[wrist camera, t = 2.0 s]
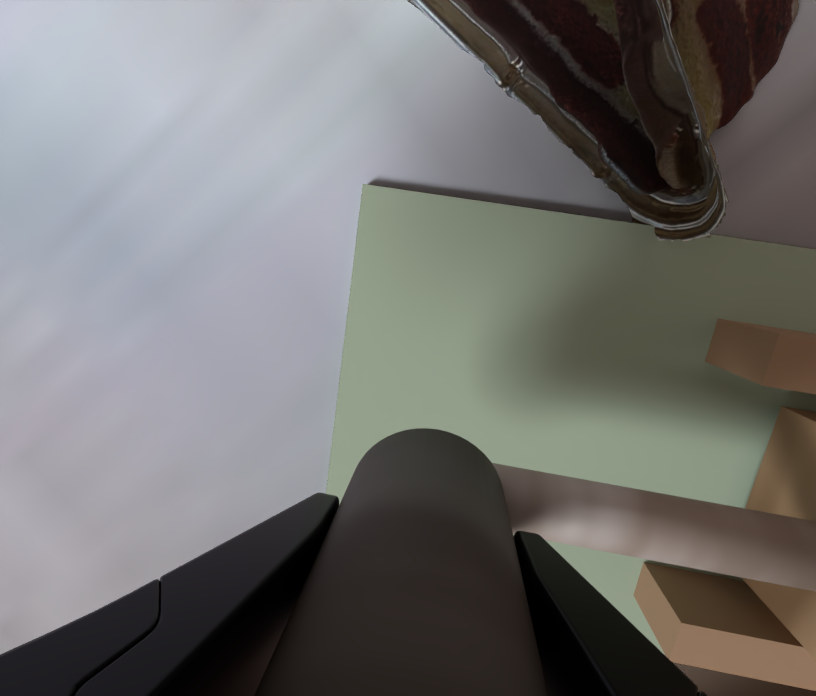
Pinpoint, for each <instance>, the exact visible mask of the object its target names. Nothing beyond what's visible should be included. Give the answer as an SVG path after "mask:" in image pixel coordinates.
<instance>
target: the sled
mask: <svg viewBox="0 0 816 696" xmlns="http://www.w3.org/2000/svg"><path fill="white" fill-rule="evenodd" d="M516 531H526V532H531V533H536V534H539V535H540V536H541V537H542V538H543V539H544V540H547V541H552V542H557V543H562V544H568V545H573V546H578V547H584V548H589V549H594V550H599V551H605V552H610V553H615V554H620V555H626V556H631V557H636V558H641V559H647V560H652V561H657V562H662V563H668V564H673V565H678V566H684V567H689V568H694V569H699V570H705V571H710V572H715V573H720V574H726V575H731V576H736V577H741V578H742V579H743V580H744V581H745V582H746V583H747V584H748V586H749V587H750V588H751V589H752V590H753V591H754V592H755V593H756V594H757V596H758V597H759V598H760V599H761V600H762V601H763V602H764V603H765V604H766V606H767V607H768V608H769V609H770V610H771V611H772V612H773V613H774V615H775V616H776V617H777V618H778V619H779V620H780V621H781V622H782V623H783V625H784V626H785V627H786V628H787V629H788V630H789V631H790V632H791V633H792V635H793V636H794V637H795V638H796V639H797V640H798V641H799V642H800V643H801V645H802V646H803V647H804V648H805V649H806V650H807V651H808V652H809V654H810V655H811V656H812V657H813V658H814V659H815V660H816V412H814V411H808V410H802V409H796V408H790V407H784V406H781V408H780V411H779V414H778V417H777V420H776V422H775V425H774V428H773V431H772V434H771V437H770V439H769V442H768V445H767V448H766V451H765V454H764V456H763V459H762V462H761V465H760V468H759V471H758V473H757V476H756V479H755V482H754V485H753V488H752V490H751V493H750V496H749V499H748V502H747V505H746V507H745V508H740V507H734V506H729V505H723V504H717V503H712V502H706V501H701V500H695V499H690V498H684V497H679V496H673V495H668V494H662V493H657V492H651V491H645V490H640V489H634V488H629V487H623V486H618V485H612V484H607V483H601V482H596V481H590V480H585V479H579V478H573V477H568V476H562V475H557V474H551V473H546V472H540V471H535V470H529V469H524V468H518V467H513V466H507V465H502V464H496V463H491V461H490V460H489V459H488V458H487V456H486V455H485V454H484V453H483V452H482V451H481V450H480V449H478V448H477V447H476V446H475V445H473V444H472V443H471V442H469V441H468V440H466V439H464V438H462V437H460V436H458V435H455V434H453V433H450V432H447V431H443V430H438V429H430V428H416V429H409V430H404V431H400V432H397V433H394V434H392V435H390V436H387V437H386V438H384V439H382V440H380V441H379V442H378V443H376V444H375V445H374V446H372V447H371V448H370V449H369V450H368V451H367V452H366V453H365V455H364V456H363V457H362V459H361V460H360V462H359V463H358V465H357V467H356V469H355V471H354V473H353V476H352V478H351V480H350V482H349V485H348V487H347V489H346V491H345V494H344V496H343V498H342V500H341V503H340V505H339V507H338V509H337V511H336V514H335V516H334V518H333V520H332V523H331V525H330V527H329V529H328V532H327V534H326V536H325V538H324V541H323V543H322V545H321V547H320V550H319V552H318V554H317V556H316V558H315V561H314V563H313V565H312V567H311V570H310V572H309V574H308V576H307V579H306V581H305V583H304V585H303V588H302V590H301V592H300V594H299V596H298V599H297V601H296V603H295V605H294V608H293V610H292V612H291V614H290V617H289V619H288V621H287V623H286V626H285V628H284V630H283V632H282V635H281V637H280V639H279V641H278V643H277V646H276V648H275V650H274V652H273V655H272V657H271V659H270V661H269V664H268V666H267V668H266V670H265V673H264V675H263V677H262V679H261V682H260V684H259V686H258V688H257V690H256V693H255V695H254V696H548V692H547V687H546V683H545V678H544V674H543V669H542V664H541V660H540V655H539V651H538V646H537V642H536V637H535V633H534V628H533V624H532V619H531V614H530V610H529V605H528V601H527V596H526V592H525V587H524V583H523V578H522V573H521V569H520V564H519V560H518V555H517V551H516V546H515V542H514V537H513V534H515V533H516Z"/></svg>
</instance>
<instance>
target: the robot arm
mask: <svg viewBox="0 0 816 696" xmlns="http://www.w3.org/2000/svg"><path fill="white" fill-rule="evenodd" d="M338 507H339V498H338V497H337V496H335V495H330V494H324V493H316V494H314V495H312V496H310V497H308V498H307V499H305V500H303V501H301V502H299V503H297V504H295V505H294V506H292V507H290V508H288V509H286V510H284V511H282V512H280V513H279V514H277V515H275V516H273V517H271V518H269V519H267V520H266V521H264V522H262V523H260V524H258V525H256V526H254V527H253V528H251V529H249V530H247V531H245V532H243V533H241V534H240V535H238V536H236V537H234V538H232V539H230V540H228V541H226V542H225V543H223V544H221V545H219V546H217V547H215V548H213V549H212V550H210V551H208V552H206V553H204V554H202V555H200V556H199V557H197V558H195V559H193V560H191V561H189V562H187V563H186V564H184V565H182V566H180V567H178V568H176V569H174V570H173V571H171V572H169V573H167V574H165V575H163V576H162V577H161V578H160V581H159V580H158V579H156V580H154V581H152V582H150V583H148V584H146V585H144V586H142V587H140V588H139V589H137V590H135V591H133V592H131V593H129V594H127V595H125V596H123V597H121V598H119V599H117V600H115V601H114V602H112V603H110V604H108V605H106V606H104V607H102V608H100V609H98V610H96V611H94V612H92V613H90V614H88V615H86V616H83V617H81V618H79V619H77V620H75V621H73V622H71V623H69V624H66V625H64V626H62V627H60V628H58V629H56V630H54V631H51V632H49V633H47V634H45V635H43V636H41V637H38V638H36V639H34V640H32V641H30V642H27V643H25V644H23V645H21V646H18V647H16V648H14V649H12V650H10V651H7V652H5V653H3V654H1V655H0V696H254V695H255V693H256V690H257V688H258V686H259V684H260V682H261V679H262V677H263V675H264V673H265V670H266V668H267V666H268V664H269V661H270V659H271V657H272V655H273V652H274V650H275V648H276V646H277V643H278V641H279V639H280V637H281V635H282V632H283V630H284V628H285V626H286V623H287V621H288V619H289V617H290V614H291V612H292V610H293V608H294V605H295V603H296V601H297V599H298V596H299V594H300V592H301V590H302V588H303V585H304V583H305V581H306V579H307V576H308V574H309V572H310V570H311V567H312V565H313V563H314V561H315V558H316V556H317V554H318V552H319V550H320V547H321V545H322V543H323V541H324V538H325V536H326V534H327V532H328V529H329V527H330V525H331V523H332V520H333V518H334V516H335V514H336V511H337V509H338ZM513 537H514V542H515V546H516V551H517V555H518V560H519V564H520V569H521V573H522V578H523V583H524V587H525V592H526V596H527V601H528V605H529V610H530V614H531V619H532V624H533V628H534V633H535V637H536V642H537V646H538V651H539V655H540V660H541V664H542V669H543V674H544V678H545V683H546V687H547V692H548V696H707V695H706V694H705V693H704V692H702V691H699V692H698V687H697V686H696V685H695V684H694V683H693V682H692V681H691V680H690V679H689V678H688V677H687V676H686V675H685V674H684V673H683V672H682V671H681V670H680V669H679V668H678V667H677V666H676V665H675V664H674V663H672V662H671V661H670V660H669V659H668V658H667V657H666V656H665V655H664V654H663V653H662V652H661V651H660V650H659V649H658V648H657V647H656V646H655V645H654V644H653V643H652V642H651V641H650V640H649V639H648V638H646V637H645V636H644V635H643V634H642V633H641V632H640V631H639V630H638V629H637V628H636V627H635V626H634V625H633V624H632V623H631V622H630V621H629V620H628V619H627V618H626V617H625V616H624V615H623V614H621V613H620V612H619V611H618V610H617V609H616V608H615V607H614V606H613V605H612V604H611V603H610V602H609V601H608V600H607V599H606V598H605V597H604V596H603V595H602V594H601V593H600V592H599V591H598V590H597V589H595V588H594V587H593V586H592V585H591V584H590V583H589V582H588V581H587V580H586V579H585V578H584V577H583V576H582V575H581V574H580V573H579V572H578V571H577V570H576V569H575V568H574V567H573V566H572V565H571V564H569V563H568V562H567V561H566V560H565V559H564V558H563V557H562V556H561V555H560V554H559V553H558V552H557V551H556V550H555V549H554V548H553V547H552V546H551V545H550V544H549V543H548V542H547V541H546V540H544V539H543V538H542V537H541V536H540V535H539V534H536V533H531V532H526V531H516V533H515V534H514V536H513Z"/></svg>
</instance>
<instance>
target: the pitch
mask: <svg viewBox="0 0 816 696" xmlns="http://www.w3.org/2000/svg"><path fill="white" fill-rule="evenodd" d="M654 230H655V226H651V225H644V224H637V223H630V222H623V221H616V220H609V219H602V218H595V217H588V216H581V215H574V214H567V213H560V212H554V211H547V210H540V209H533V208H526V207H519V206H512V205H505V204H498V203H491V202H484V201H477V200H470V199H463V198H457V197H450V196H443V195H436V194H429V193H422V192H415V191H408V190H401V189H394V188H387V187H380V186H373V185H366V184H363V187H362V195H361V204H360V212H359V221H358V229H357V237H356V246H355V254H354V262H353V271H352V279H351V288H350V296H349V304H348V313H347V321H346V329H345V338H344V346H343V354H342V363H341V371H340V380H339V388H338V396H337V405H336V413H335V421H334V430H333V438H332V447H331V455H330V463H329V472H328V480H327V488H326V494H330V495H335V496H337V497H338V498H339V505H340V503H341V500H342V498H343V496H344V494H345V491H346V489H347V487H348V485H349V482H350V480H351V478H352V476H353V473H354V471H355V469H356V467H357V465H358V463H359V462H360V460H361V459H362V457H363V456H364V455H365V453H366V452H367V451H368V450H369V449H370V448H371V447H372V446H374V445H375V444H376V443H378V442H379V441H380V440H382V439H384V438H386V437H387V436H390V435H392V434H394V433H397V432H400V431H404V430H409V429H416V428H430V429H438V430H443V431H447V432H450V433H453V434H455V435H458V436H460V437H462V438H464V439H466V440H468V441H469V442H471V443H472V444H473V445H475V446H476V447H477V448H478V449H480V450H481V451H482V452H483V453H484V454H485V455H486V456H487V458H488V459H489V460H490V461H491V463H496V464H502V465H507V466H513V467H518V468H524V469H529V470H535V471H540V472H546V473H551V474H557V475H562V476H568V477H573V478H579V479H585V480H590V481H596V482H601V483H607V484H612V485H618V486H623V487H629V488H634V489H640V490H645V491H651V492H657V493H662V494H668V495H673V496H679V497H684V498H690V499H695V500H701V501H706V502H712V503H717V504H723V505H729V506H734V507H740V508H745V507H746V505H747V502H748V499H749V496H750V493H751V490H752V488H753V485H754V482H755V479H756V476H757V473H758V471H759V468H760V465H761V462H762V459H763V456H764V454H765V451H766V448H767V445H768V442H769V439H770V437H771V434H772V431H773V428H774V425H775V422H776V420H777V417H778V414H779V411H780V408H781V406H784V407H790V408H796V409H802V410H808V411H814V412H816V249H810V248H803V247H796V246H789V245H782V244H775V243H768V242H761V241H755V240H748V239H741V238H734V237H727V236H720V235H713V234H710V235H711V238H696V239H695V238H693V239H691V240H689V241H687V242H684V241H682V240H680V239H675V240H674V241H673V242H672V241H671V240H658V238H657V236H656V235H655V232H654ZM513 536H514V534H513ZM546 541H547V540H546ZM547 542H548V543H549V544H550V545H551V546H552V547H553V548H554V549H555V550H556V551H557V552H558V553H559V554H560V555H561V556H562V557H563V558H564V559H565V560H566V561H567V562H568V563H569V564H571V565H572V566H573V567H574V568H575V569H576V570H577V571H578V572H579V573H580V574H581V575H582V576H583V577H584V578H585V579H586V580H587V581H588V582H589V583H590V584H591V585H592V586H593V587H594V588H595V589H597V590H598V591H599V592H600V593H601V594H602V595H603V596H604V597H605V598H606V599H607V600H608V601H609V602H610V603H611V604H612V605H613V606H614V607H615V608H616V609H617V610H618V611H619V612H620V613H621V614H623V615H624V616H625V617H626V618H627V619H628V620H629V621H630V622H631V623H632V624H633V625H634V626H635V627H636V628H637V629H638V630H639V631H640V632H641V633H642V634H643V635H644V636H645V637H646V638H648V639H649V640H650V641H651V642H652V643H653V644H654V645H655V646H656V647H657V648H658V649H659V650H660V651H661V652H662V653H663V654H664V655H665V656H666V657H667V658H668V659H669V660H670V661H671V662H675V663H680V664H685V665H690V666H695V667H700V668H704V669H709V670H714V671H719V672H724V673H729V674H734V675H739V676H744V677H749V678H754V679H759V680H764V681H768V682H773V683H778V684H783V685H788V686H793V687H798V688H803V689H808V690H813V691H816V660H815V659H814V658H813V657H812V656H811V655H810V654H809V652H808V651H807V650H806V649H805V648H804V647H803V646H802V645H801V643H800V642H799V641H798V640H797V639H796V638H795V637H794V636H793V635H792V633H791V632H790V631H789V630H788V629H787V628H786V627H785V626H784V625H783V623H782V622H781V621H780V620H779V619H778V618H777V617H776V616H775V615H774V613H773V612H772V611H771V610H770V609H769V608H768V607H767V606H766V604H765V603H764V602H763V601H762V600H761V599H760V598H759V597H758V596H757V594H756V593H755V592H754V591H753V590H752V589H751V588H750V587H749V586H748V584H747V583H746V582H745V581H744V580H743V579H742V578H741V577H736V576H731V575H726V574H720V573H715V572H710V571H705V570H699V569H694V568H689V567H684V566H678V565H673V564H668V563H662V562H657V561H652V560H647V559H641V558H636V557H631V556H626V555H620V554H615V553H610V552H605V551H599V550H594V549H589V548H584V547H578V546H573V545H568V544H562V543H557V542H552V541H547Z"/></svg>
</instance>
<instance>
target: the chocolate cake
mask: <svg viewBox="0 0 816 696" xmlns="http://www.w3.org/2000/svg"><path fill="white" fill-rule="evenodd" d="M407 1H408V2H410V3H411V4H413V5H414V6H415V7H417V8H418V9H419V10H421V11H422V12H423V13H424V14H425V15H426V16H427V17H428V18H429V19H431V21H433V22H434V24H435V25H436V26H437V27H439V28H440V29H442V30H443V31H444V33H445V34H446V35H447V36H448V37H449V38H450V39H451V40H452V41H453V42H454V43H455V44H456V45H457V46H458V47H459V48H461V49H462V50H465V51H466V52H467V53H469V54H471V55H473V56H474V57H476V58H478V60H480V61H482V62H483V63H485V65H484V68H485V70H486V72H487V73H488V74H490V75H491V76H492V77H493V78H494V79H495V82H496V84H497V85H498V86H499V87H501V88H503V90H504V91H505V92H506V94H507V95H508V96H509V97H512V98H514V99H516V100H517V101H519V102H522V103H523V104H525V105H526V106H527V107H528V108H529V109H530V110H531V111H532V113H533V114H535V115H537V114H538V115H540V116H541V118H542V119H543V121H544V122H545V123H546V125H547V127H548V129H549V130H550V131H551V132H552V133H553V134H554V135H555V136H556V137H557V138H558V139H559V141H560V142H562V143H563V144H565V145H566V146H568V147H569V148H571V149H572V151H573V153H574V154H575V155H576V156H577V157H578V158H579V159H581V160H582V161H583V162H584V163H585V164H586V165H587V166H588V167H589V169H590V171H591V173H592V174H593V176H594V177H597V178H601V179H602V180H603V181H604V183H605V185H606V187H608V188H610V189H612V190H613V191H614V192H617V193H618V195H619V196H620V197H621V199H622V200H623V201H624V202H625V203H626V204H627V206H628V208H629V210H630V213H631V216H632V221H633V223H637V224H644V225H651V226H655V230H654V232H655V235H656V236H657V238H658V240H671V241H672V242H673V241H674V240H675V239H680V240H682V241H684V242H687V241H689V240H691V239H693V238H695V239H696V238H711V235H710V232H711V231H712V230H713V229H714V228H716V227H717V226H718V223H721V220H722V217H723V216H725V208H726V202H728V198H727V195H726V192H725V189H724V186H723V183H722V180H721V175H720V172H719V169H718V165H716V159H715V153H714V151H713V148H712V145H711V144H710V142H709V138H710V135H711V134H712V132H713V131H714V130H716V129H719V128H721V127H723V126H725V125H726V124H727V123H729V122H730V121H731V120H732V119H733V118H734V116H735V115H736V114H737V112H738V111H739V110H740V108H741V107H742V106H743V105H744V104H745V103H746V102H748V101H749V100H750V99H751V98H752V96H753V93H754V89H755V87H756V86H757V84H758V83H759V81H760V80H761V79H762V78H763V77H764V76H765V75H766V74H767V73H768V72H769V71H770V70H771V69H772V67H773V66H774V65H775V64H776V62H777V60H778V57H779V54H780V52H781V49H782V47H783V44H784V41H785V38H786V36H787V34H788V32H789V30H790V28H791V25H792V24H793V22H794V20H795V17H796V15H797V12H798V7H799V3H798V0H407Z"/></svg>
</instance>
